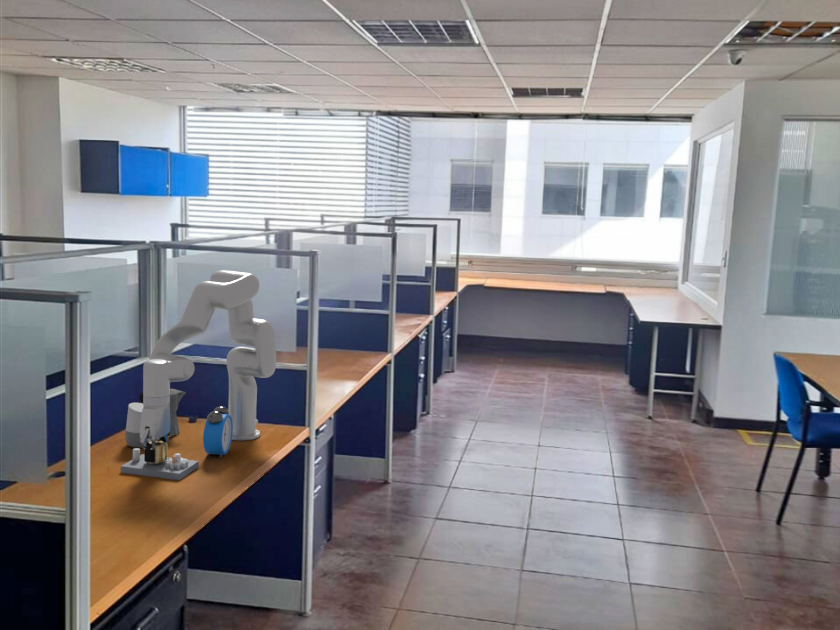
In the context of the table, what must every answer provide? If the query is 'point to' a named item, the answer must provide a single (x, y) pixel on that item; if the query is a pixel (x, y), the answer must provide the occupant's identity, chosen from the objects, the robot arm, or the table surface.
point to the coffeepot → (172, 409)
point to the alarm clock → (218, 432)
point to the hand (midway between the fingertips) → (156, 457)
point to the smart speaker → (134, 425)
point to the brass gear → (160, 451)
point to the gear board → (160, 466)
